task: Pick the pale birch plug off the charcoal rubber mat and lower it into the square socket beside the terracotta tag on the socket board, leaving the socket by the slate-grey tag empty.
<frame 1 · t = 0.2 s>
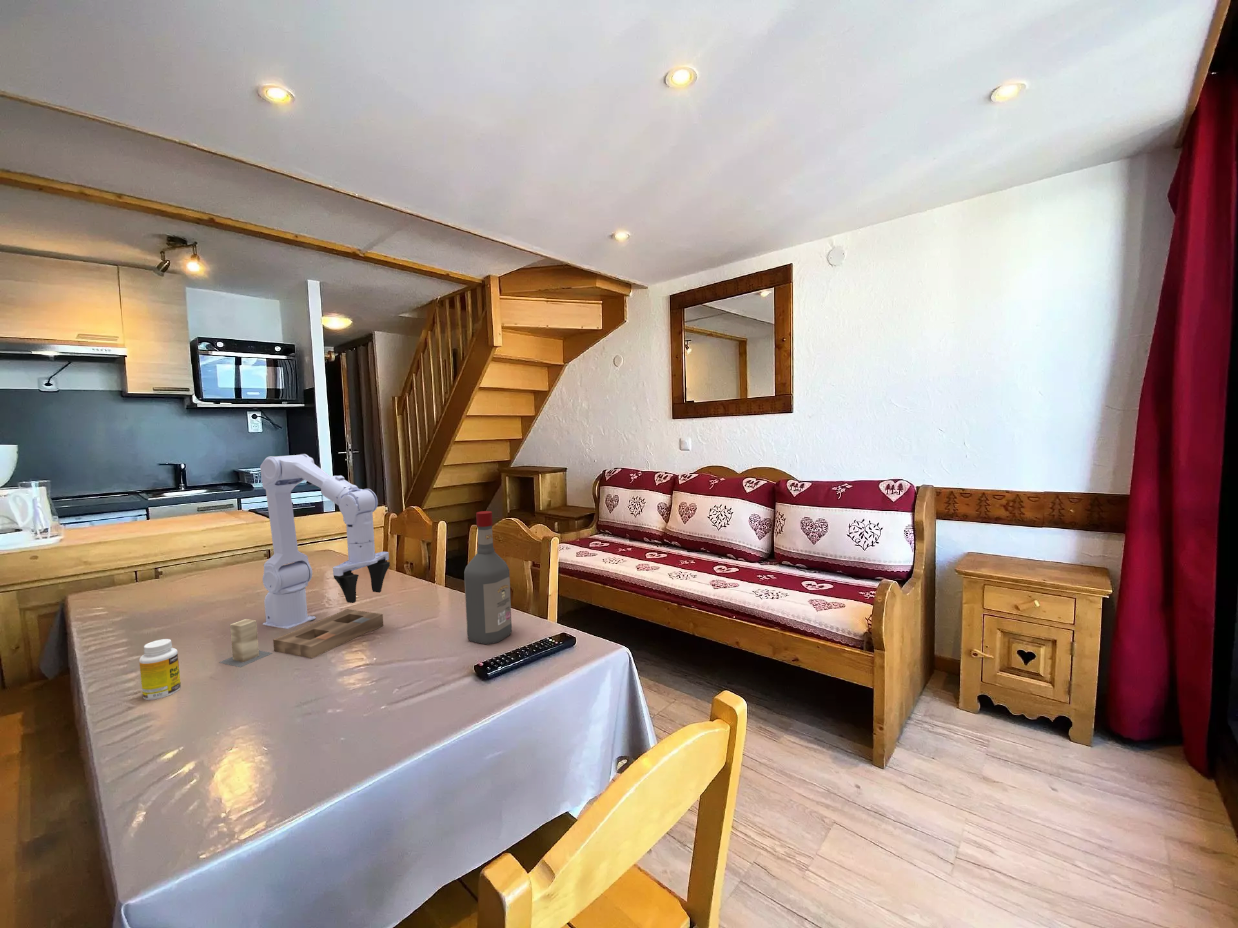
hand: (364, 596, 124), 10 cm above the table, fingers open, 7 cm apart
birch plug: (246, 657, 114), resting on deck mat
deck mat: (246, 659, 114), on the table
socket board: (331, 638, 125), on the table
liquor: (489, 636, 124), on the table
supplement bottle: (162, 695, 100), on the table
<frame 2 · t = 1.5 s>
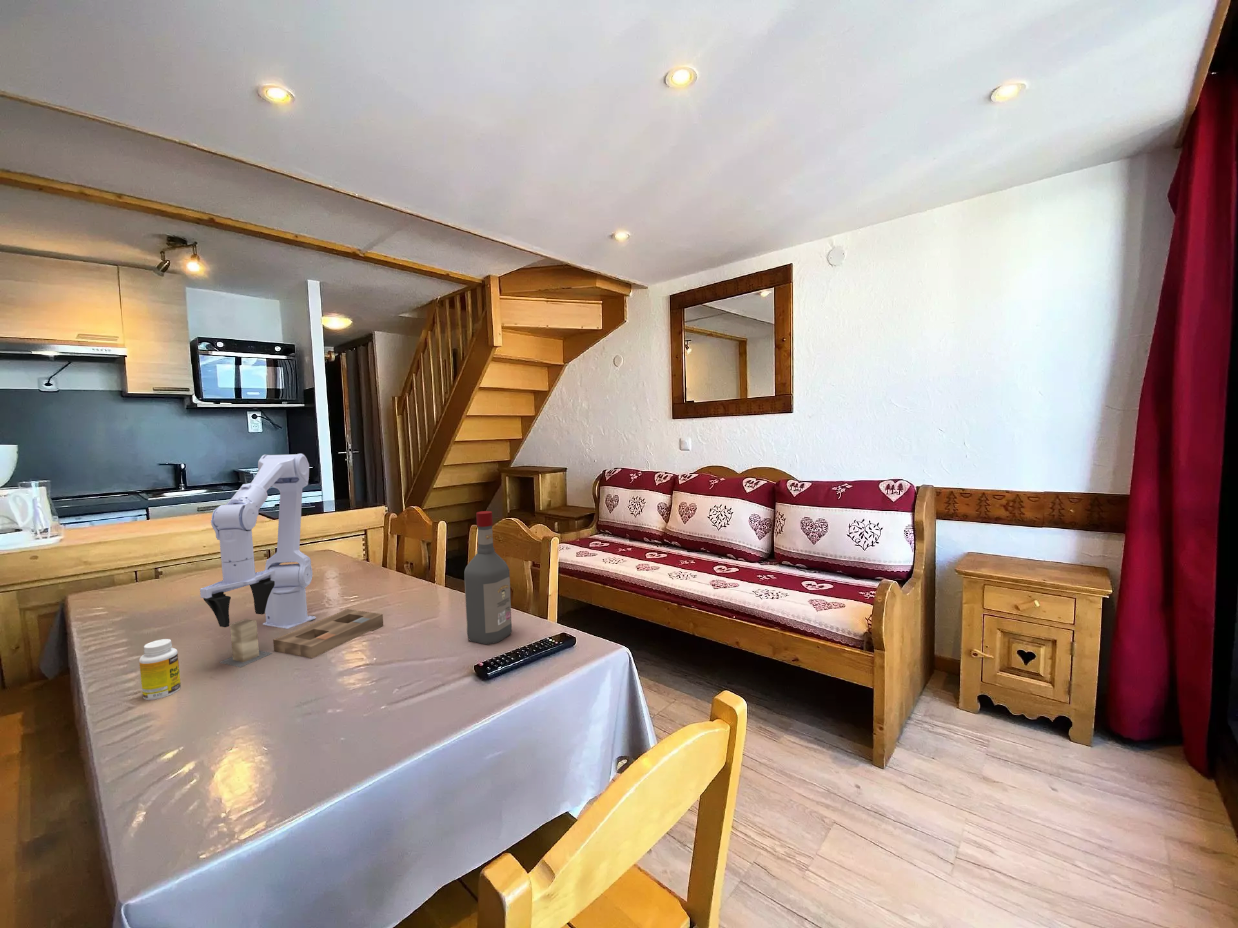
hand: (242, 619, 114), 9 cm above the table, fingers open, 7 cm apart
nothing on the table moved.
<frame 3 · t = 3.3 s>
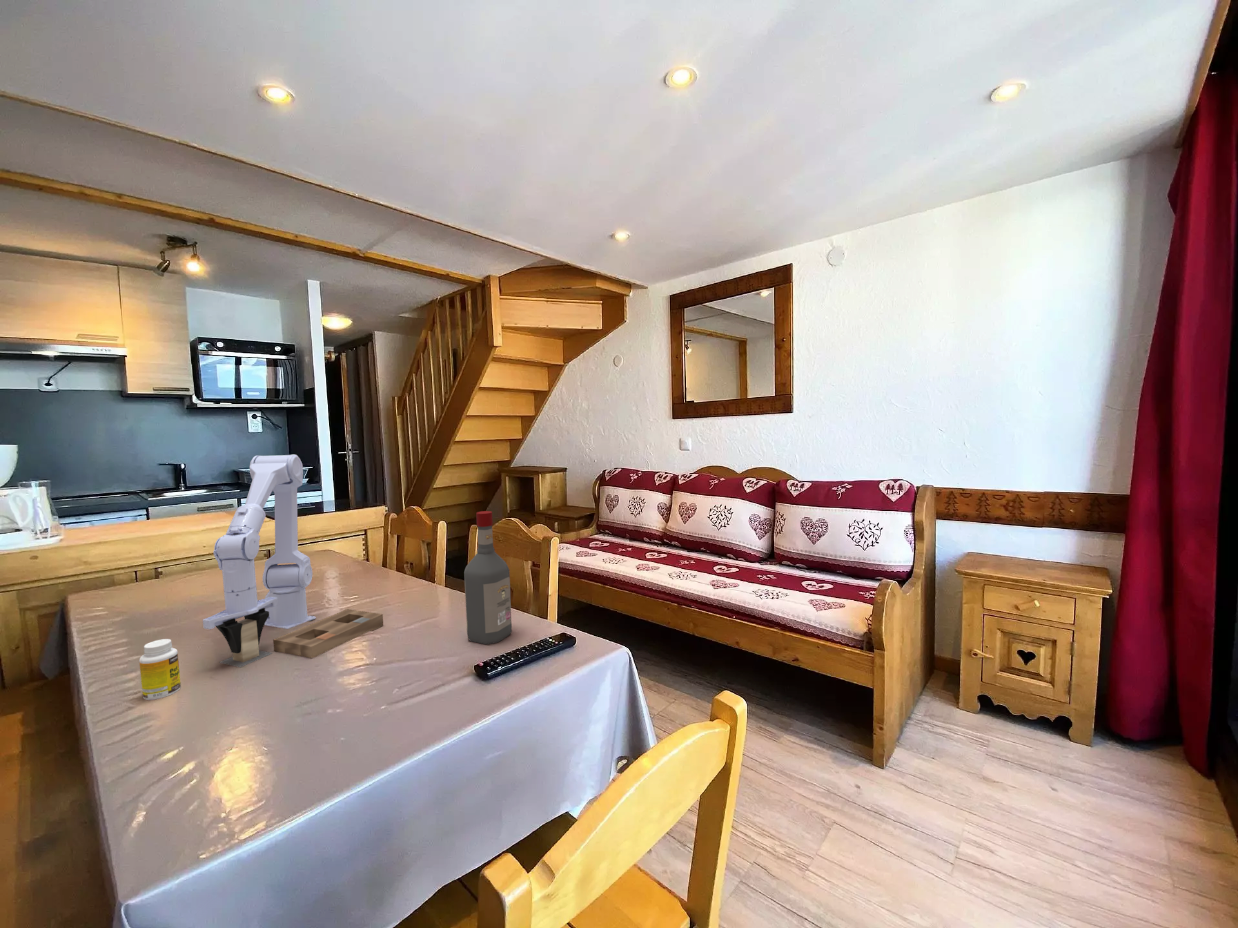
hand: (245, 648, 114), 3 cm above the table, fingers closed on birch plug, 3 cm apart
birch plug: (246, 657, 114), resting on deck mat, touching gripper
everything else where it was.
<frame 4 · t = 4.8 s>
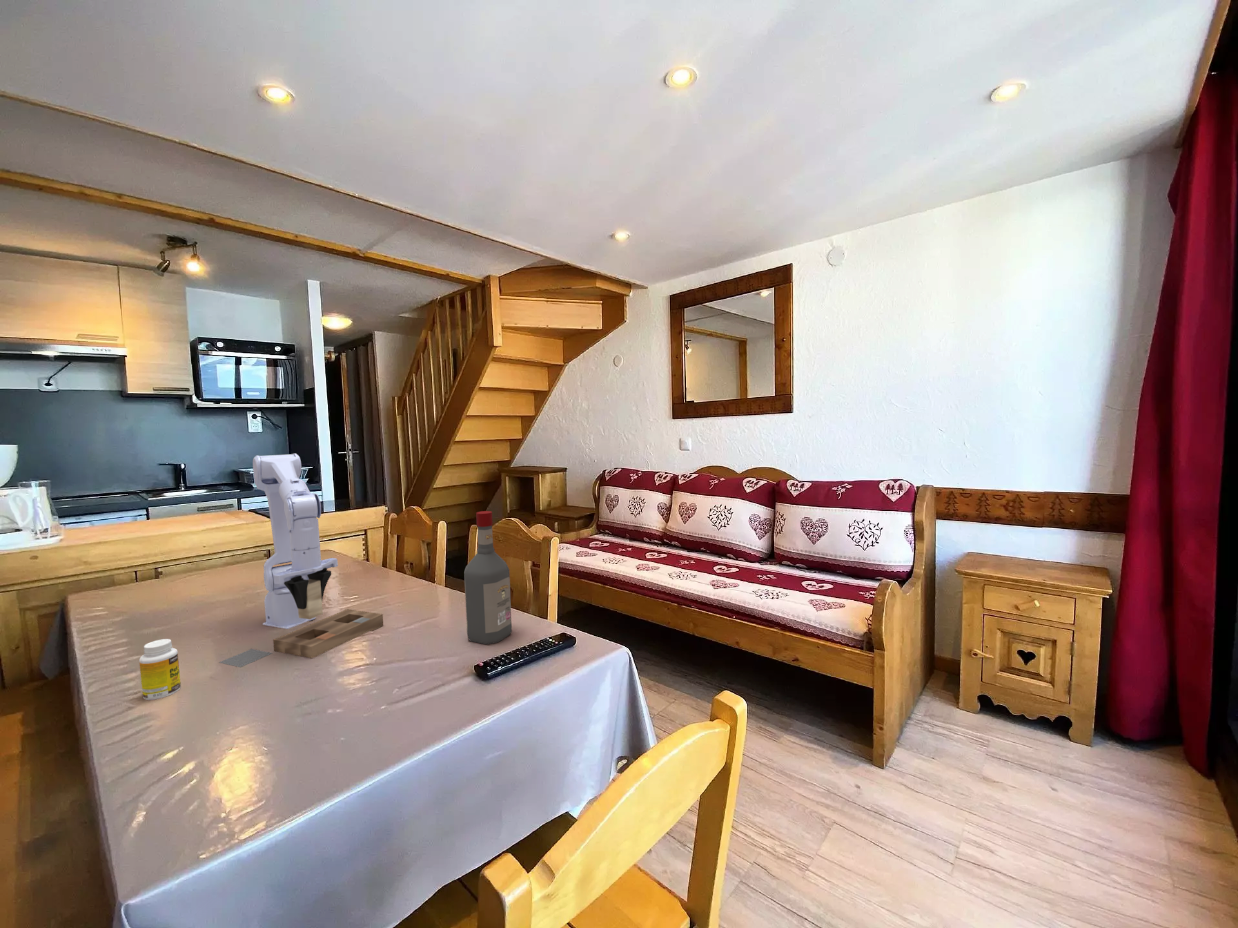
hand: (309, 605, 119), 10 cm above the table, fingers closed on birch plug, 3 cm apart
birch plug: (310, 615, 120), point 7 cm above the table, touching gripper
everything else where it was.
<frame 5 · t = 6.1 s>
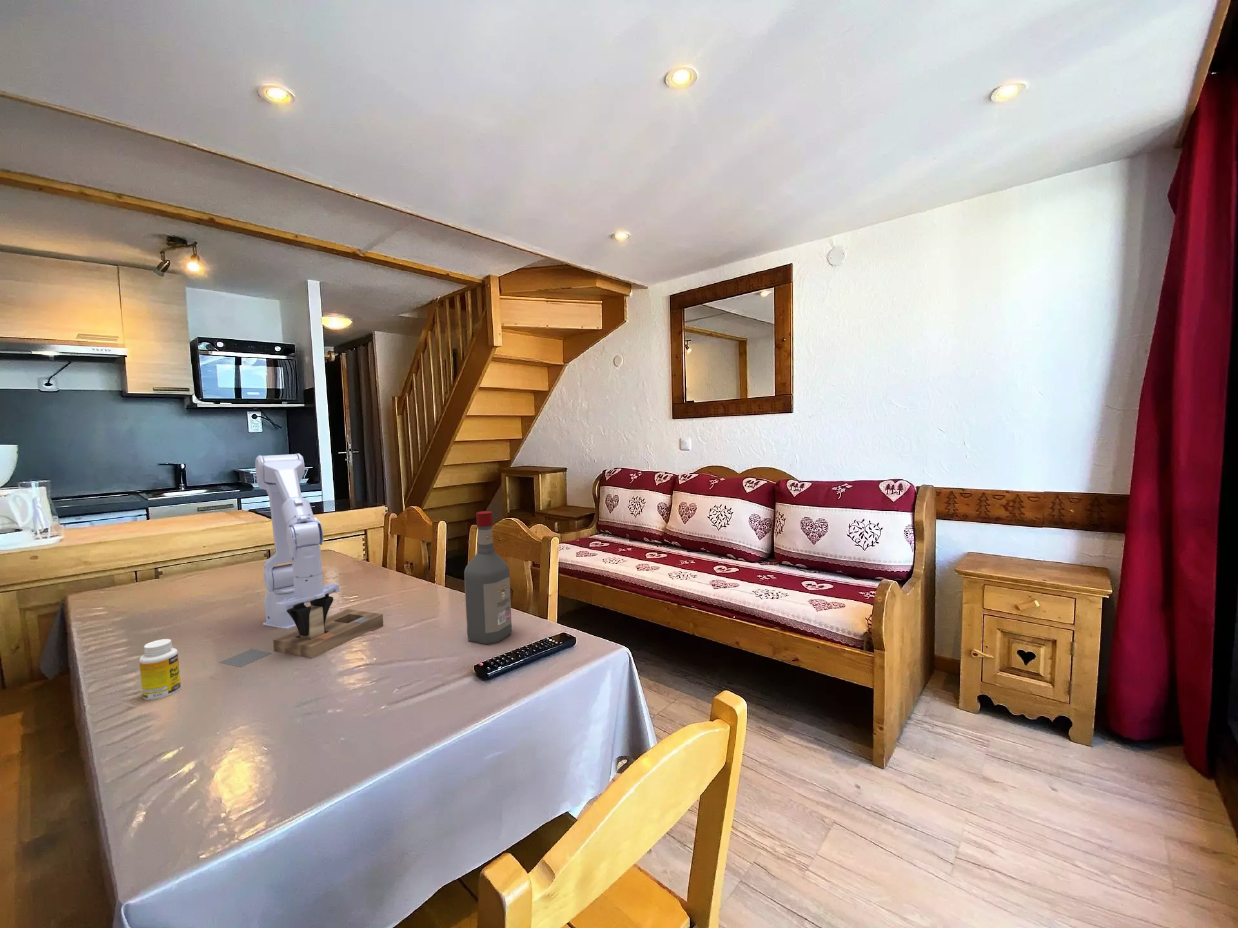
hand: (312, 631, 120), 4 cm above the table, fingers closed on birch plug, 3 cm apart
birch plug: (313, 642, 120), point 1 cm above the table, touching gripper
everything else where it was.
when the fingers open (4 cm above the table, at t = 6.7 s): birch plug drops 1 cm, resting in socket board.
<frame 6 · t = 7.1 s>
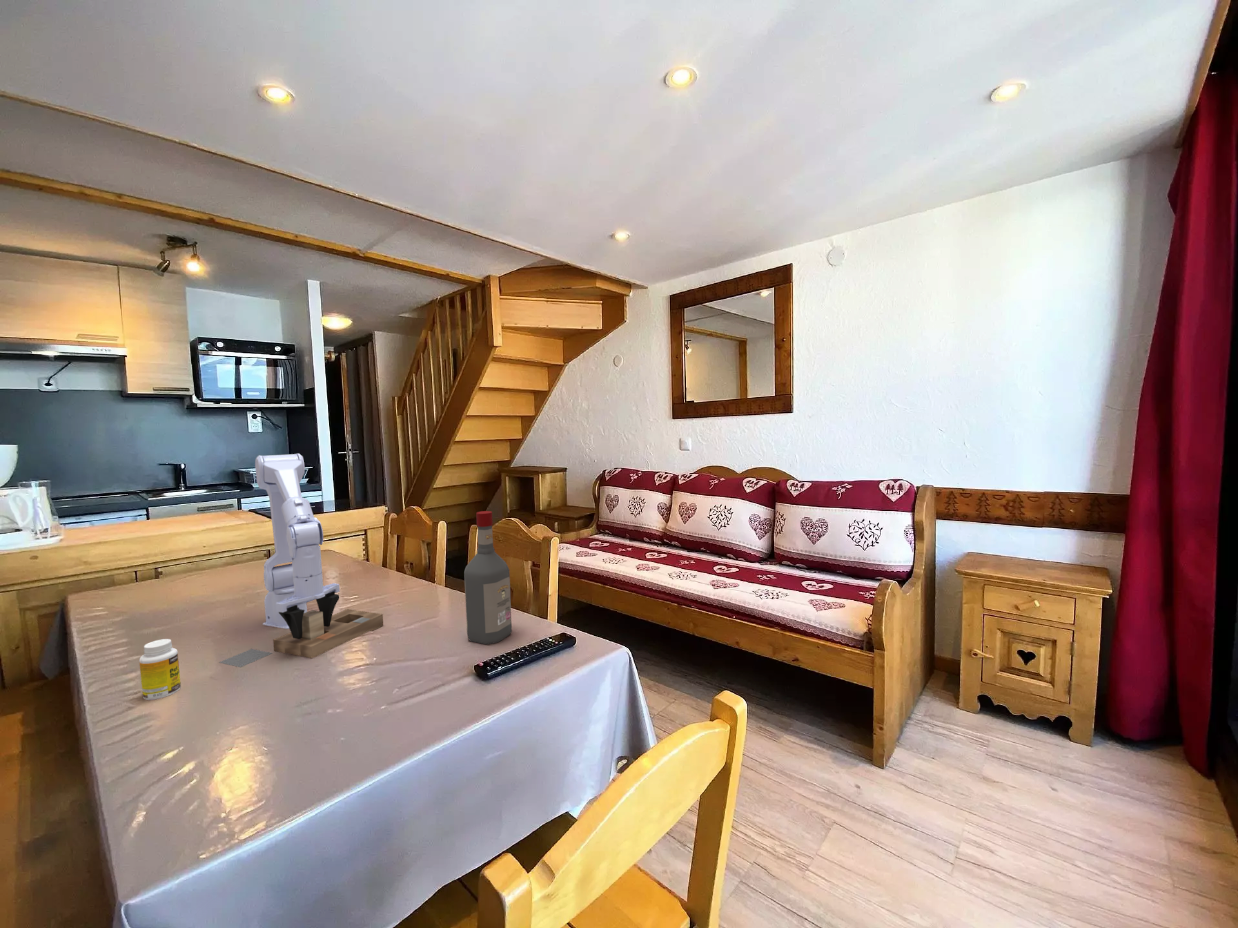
hand: (312, 631, 120), 4 cm above the table, fingers open, 7 cm apart
birch plug: (313, 646, 120), resting in socket board
everything else where it was.
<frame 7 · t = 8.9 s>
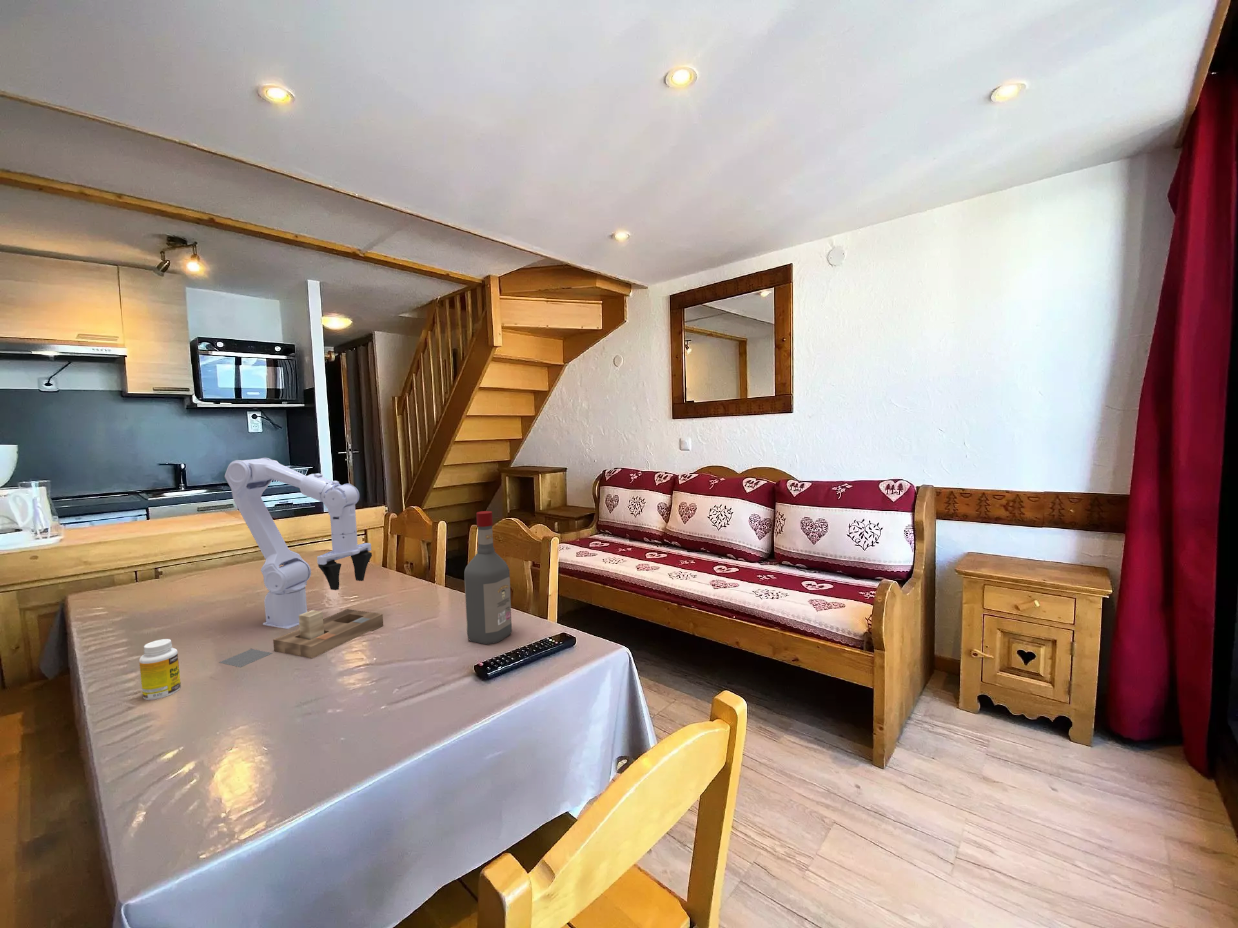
hand: (347, 584, 132), 10 cm above the table, fingers open, 7 cm apart
nothing on the table moved.
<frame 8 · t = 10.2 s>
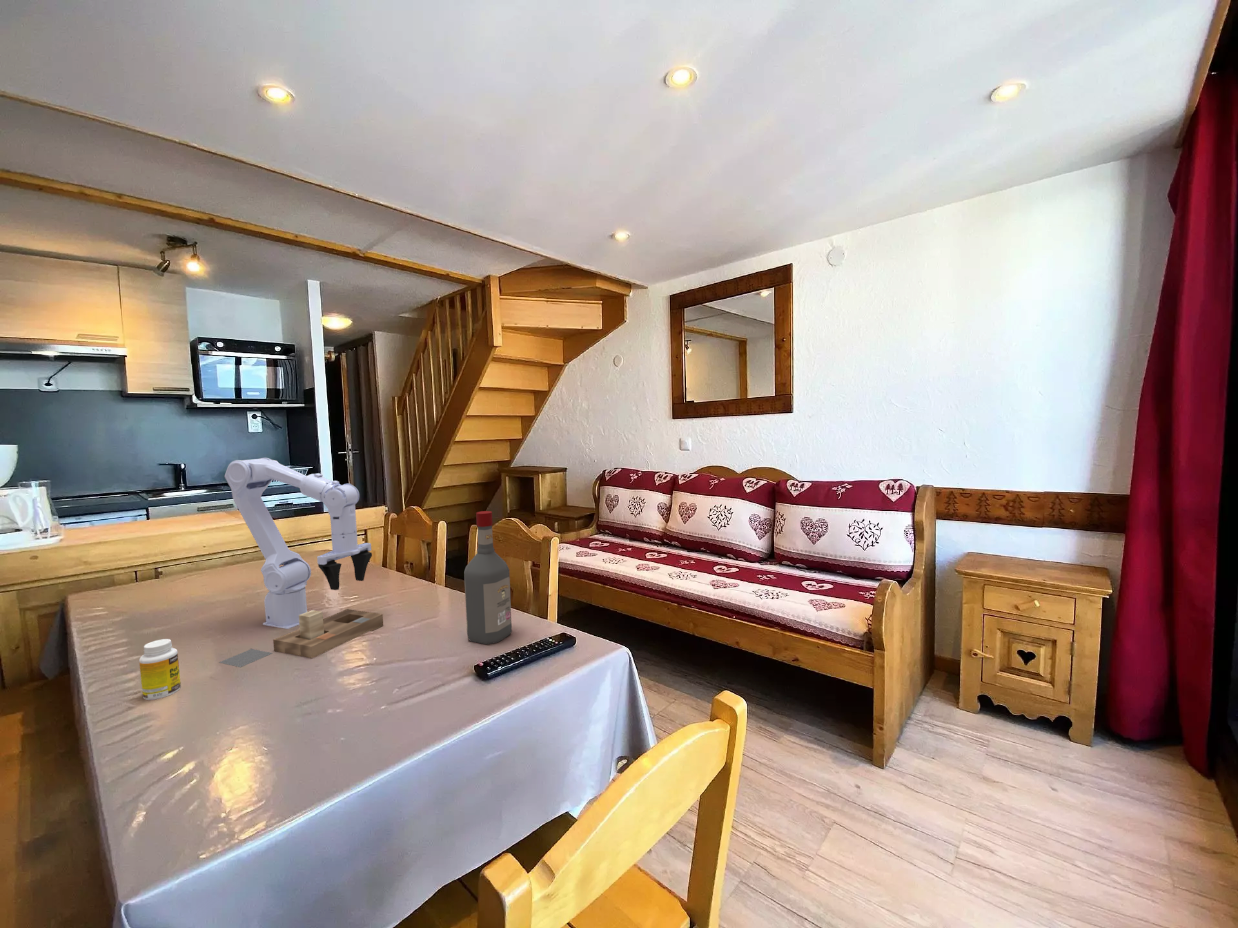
hand: (347, 584, 132), 10 cm above the table, fingers open, 7 cm apart
nothing on the table moved.
at the end: birch plug 0.0 cm from the target spot on the socket board, point 0.0 cm above the socket board's base; birch plug tilted 0°; the gripper is holding nothing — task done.
